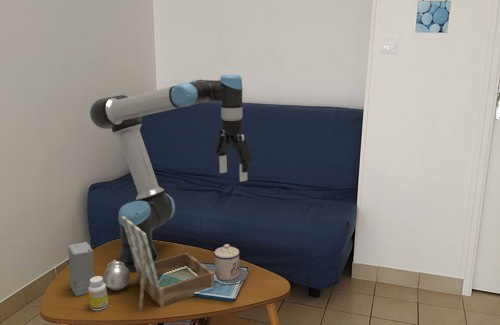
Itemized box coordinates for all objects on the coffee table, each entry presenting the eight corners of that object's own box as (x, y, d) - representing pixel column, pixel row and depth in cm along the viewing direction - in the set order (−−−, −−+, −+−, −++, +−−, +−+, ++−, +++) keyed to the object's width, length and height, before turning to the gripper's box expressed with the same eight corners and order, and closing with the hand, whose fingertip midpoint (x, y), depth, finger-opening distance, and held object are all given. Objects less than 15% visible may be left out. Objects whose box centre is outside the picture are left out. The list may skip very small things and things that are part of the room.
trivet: (207, 274, 169) (207, 272, 169) (235, 265, 176) (235, 263, 175) (225, 288, 159) (225, 285, 159) (253, 278, 166) (253, 275, 166)
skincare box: (70, 287, 161) (65, 245, 157) (90, 281, 165) (86, 240, 161) (76, 297, 154) (71, 254, 150) (97, 291, 158) (93, 248, 154)
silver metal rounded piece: (134, 281, 165) (132, 255, 162) (127, 295, 156) (125, 267, 153) (109, 281, 165) (106, 255, 162) (100, 295, 156) (98, 268, 153)
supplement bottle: (92, 302, 151) (89, 275, 149) (109, 301, 152) (107, 274, 149) (88, 311, 146) (85, 283, 144) (106, 310, 147) (103, 282, 144)
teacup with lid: (235, 282, 161) (234, 251, 158) (210, 279, 164) (210, 248, 161) (245, 267, 172) (245, 238, 169) (222, 264, 175) (221, 235, 172)
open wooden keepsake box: (119, 289, 161) (113, 217, 154) (187, 268, 175) (184, 202, 169) (141, 315, 145) (135, 237, 138) (214, 290, 159) (212, 218, 153)
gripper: (261, 122, 156) (261, 182, 161) (222, 114, 176) (223, 167, 181) (243, 124, 152) (243, 186, 157) (205, 115, 172) (207, 170, 177)
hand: (233, 176), depth 169 cm, fingers open, 13 cm apart
